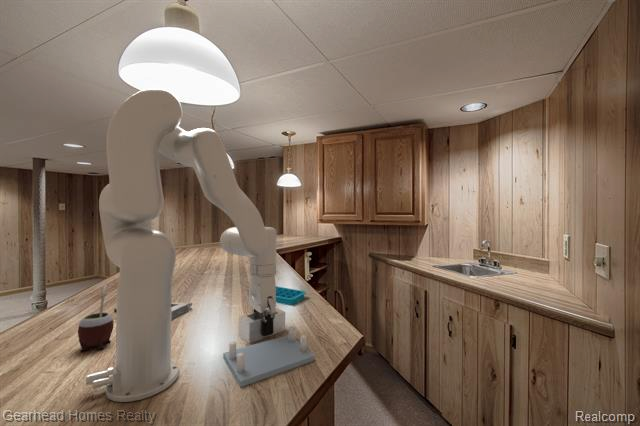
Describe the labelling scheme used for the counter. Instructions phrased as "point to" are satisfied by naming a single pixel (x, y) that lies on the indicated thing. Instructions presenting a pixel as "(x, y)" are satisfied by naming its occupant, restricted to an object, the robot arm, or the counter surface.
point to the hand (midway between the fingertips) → (262, 329)
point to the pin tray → (267, 358)
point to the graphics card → (177, 309)
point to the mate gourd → (95, 329)
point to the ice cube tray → (288, 295)
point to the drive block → (259, 325)
